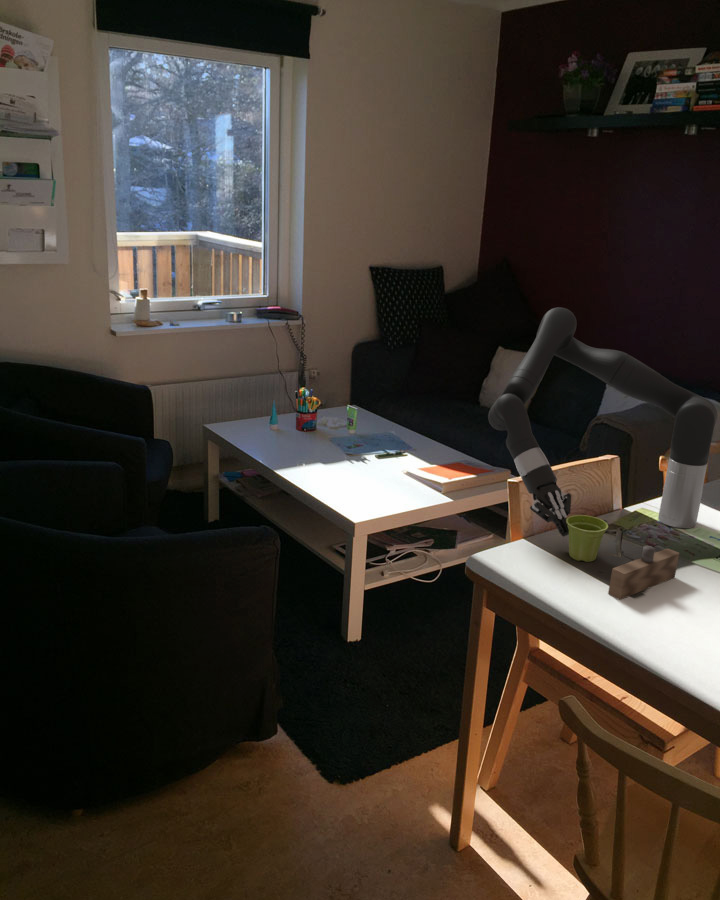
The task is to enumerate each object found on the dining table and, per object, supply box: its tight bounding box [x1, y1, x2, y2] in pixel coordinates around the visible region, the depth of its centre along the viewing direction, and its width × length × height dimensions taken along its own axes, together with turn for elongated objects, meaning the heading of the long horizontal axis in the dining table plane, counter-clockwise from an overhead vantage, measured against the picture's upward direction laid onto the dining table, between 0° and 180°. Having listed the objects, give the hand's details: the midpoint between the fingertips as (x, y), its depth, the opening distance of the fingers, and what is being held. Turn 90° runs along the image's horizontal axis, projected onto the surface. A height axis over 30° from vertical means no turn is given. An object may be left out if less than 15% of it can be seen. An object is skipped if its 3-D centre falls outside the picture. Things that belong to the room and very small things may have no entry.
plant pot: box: [566, 514, 609, 563], centre depth 187 cm, size 9×9×9 cm
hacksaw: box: [597, 519, 635, 561], centre depth 197 cm, size 24×10×2 cm, turn 160°
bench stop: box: [607, 545, 680, 600], centre depth 174 cm, size 20×3×9 cm, turn 126°
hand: (567, 534), depth 190 cm, fingers closed
